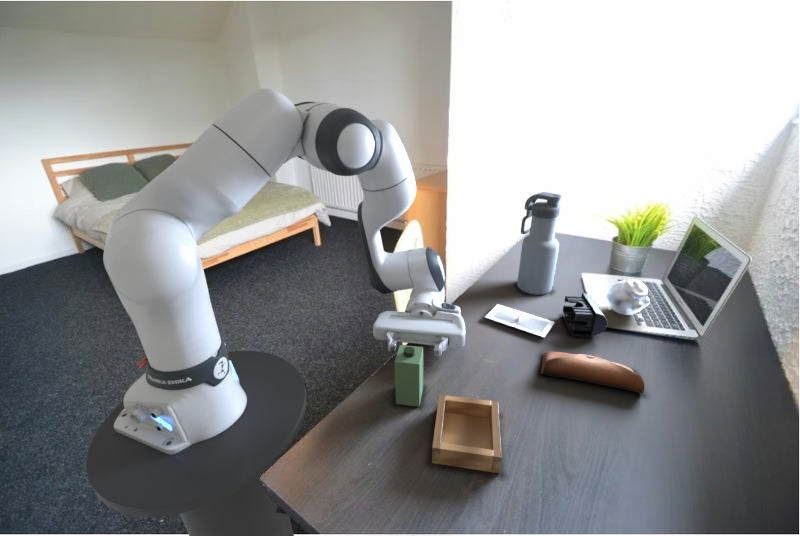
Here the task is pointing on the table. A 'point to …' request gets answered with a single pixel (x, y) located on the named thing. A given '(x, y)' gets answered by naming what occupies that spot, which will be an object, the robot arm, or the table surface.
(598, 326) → the end cap
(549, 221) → the water bottle
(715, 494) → the table surface
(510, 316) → the white shallow tray
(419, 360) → the green carton with cap
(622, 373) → the sunglasses case
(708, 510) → the table surface
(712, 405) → the table surface
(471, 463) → the wooden tray
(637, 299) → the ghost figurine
